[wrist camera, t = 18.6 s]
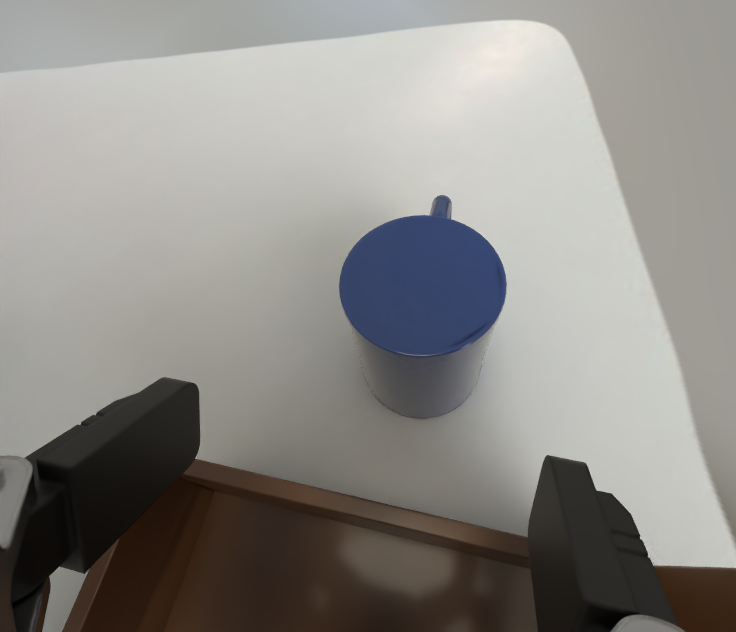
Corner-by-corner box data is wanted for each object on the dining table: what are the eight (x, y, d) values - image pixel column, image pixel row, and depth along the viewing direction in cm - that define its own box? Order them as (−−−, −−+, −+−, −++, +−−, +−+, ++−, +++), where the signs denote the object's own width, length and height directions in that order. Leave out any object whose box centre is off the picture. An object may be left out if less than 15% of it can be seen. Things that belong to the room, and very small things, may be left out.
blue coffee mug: (472, 432, 23) (496, 371, 16) (348, 406, 24) (319, 339, 17) (493, 279, 27) (520, 176, 20) (385, 264, 28) (374, 161, 21)
